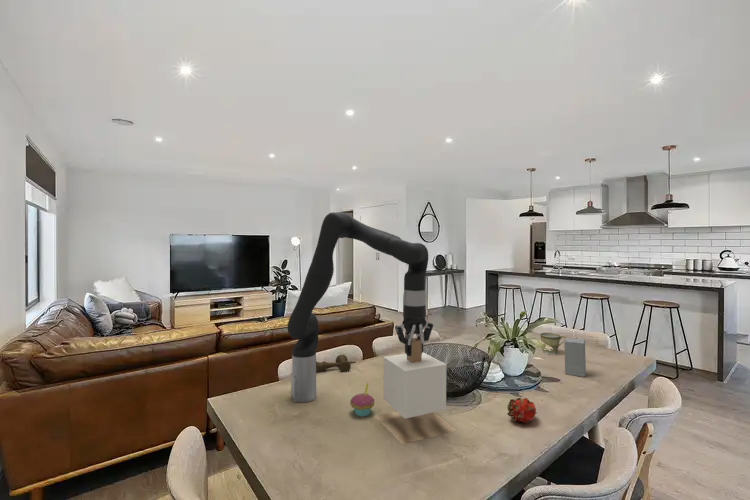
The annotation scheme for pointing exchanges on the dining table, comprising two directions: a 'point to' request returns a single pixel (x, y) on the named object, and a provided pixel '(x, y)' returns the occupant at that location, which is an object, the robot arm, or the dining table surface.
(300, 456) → the dining table surface
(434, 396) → the white cube with peg
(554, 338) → the ceramic cup
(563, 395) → the dining table surface
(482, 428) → the dining table surface
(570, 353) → the skincare box
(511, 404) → the dragon fruit
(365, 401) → the cupcake
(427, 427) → the mat
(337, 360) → the kendama
